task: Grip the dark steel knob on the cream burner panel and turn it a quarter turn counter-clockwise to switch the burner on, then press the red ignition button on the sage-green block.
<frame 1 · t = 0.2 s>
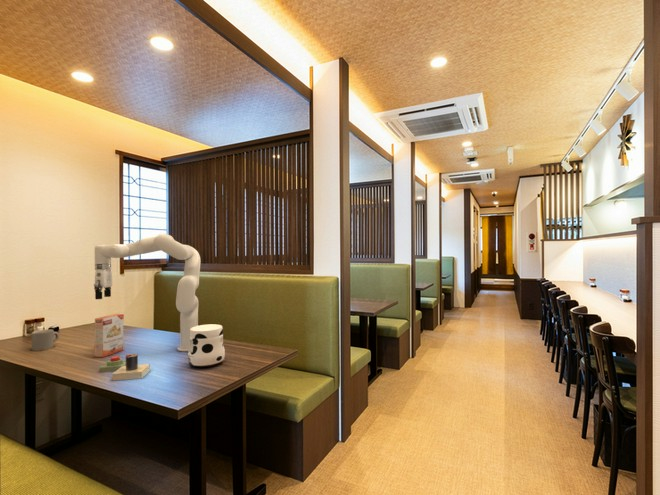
hand: (103, 297, 187), 31 cm above the table, tool pointing down, fingers open, 9 cm apart
ignite button: (115, 359, 163), point 4 cm above the table, slide at 0.1 cm
burner panel: (131, 375, 154), on the table
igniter: (115, 368, 163), on the table
cracker box: (109, 353, 188), on the table
coffee mug: (46, 347, 202), on the table
milk container: (206, 364, 168), on the table
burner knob: (131, 361, 154), point 6 cm above the table, hinge at 0.0°
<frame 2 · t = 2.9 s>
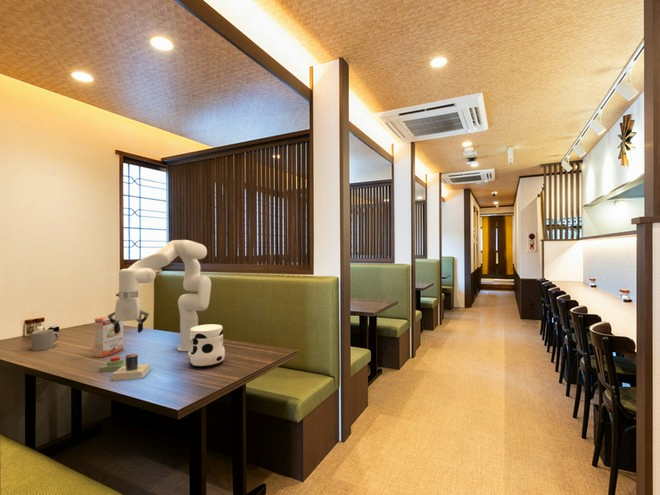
hand: (128, 332, 156), 19 cm above the table, tool pointing down, fingers open, 9 cm apart
nothing on the table moved.
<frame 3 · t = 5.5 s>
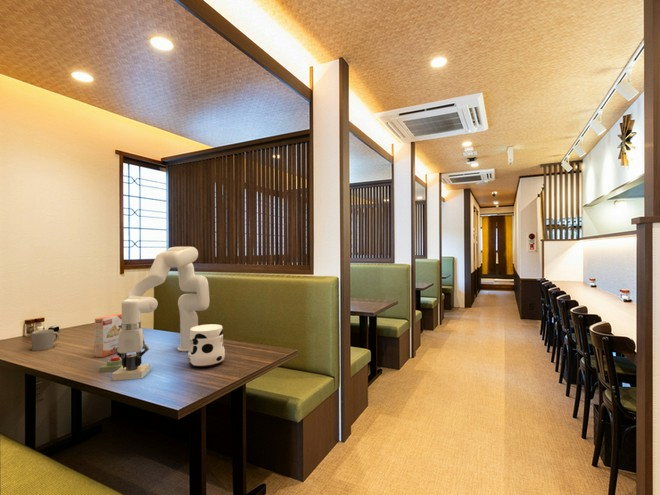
hand: (131, 366, 154), 4 cm above the table, tool pointing down, fingers closed on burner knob, 4 cm apart
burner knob: (131, 361, 154), point 6 cm above the table, hinge at -0.1°, touching gripper
everything else where it was.
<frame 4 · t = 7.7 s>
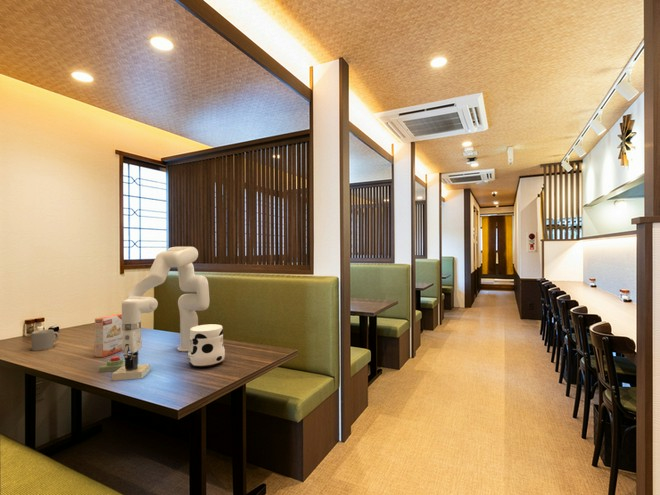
hand: (131, 366, 154), 4 cm above the table, tool pointing down, fingers closed on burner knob, 4 cm apart
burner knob: (131, 361, 154), point 6 cm above the table, hinge at 90.5°, touching gripper
everything else where it was.
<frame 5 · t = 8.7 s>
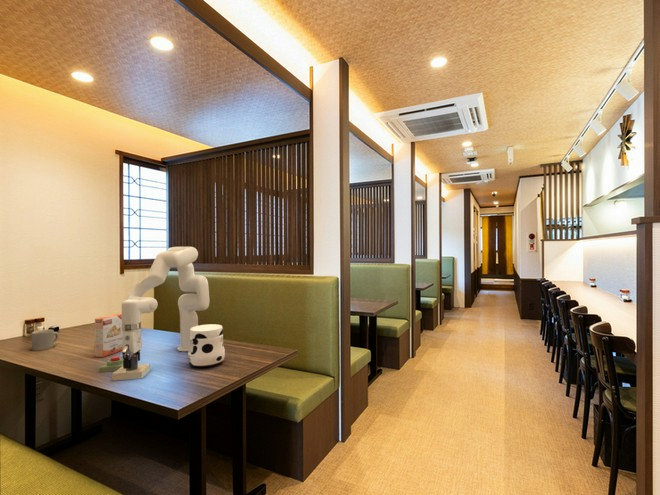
hand: (132, 364, 154), 5 cm above the table, tool pointing down, fingers open, 9 cm apart
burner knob: (131, 361, 154), point 6 cm above the table, hinge at 91.1°
everything else where it was.
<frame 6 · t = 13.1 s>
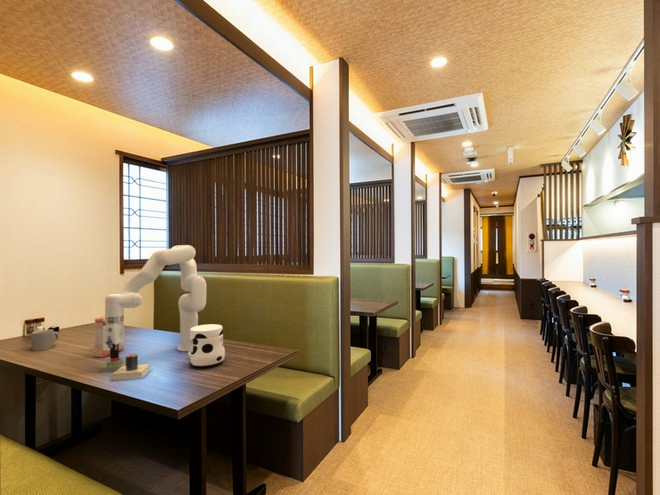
hand: (114, 357, 163), 5 cm above the table, tool pointing down, fingers closed
ignite button: (115, 359, 163), point 4 cm above the table, slide at -0.1 cm, touching gripper
everything else where it was.
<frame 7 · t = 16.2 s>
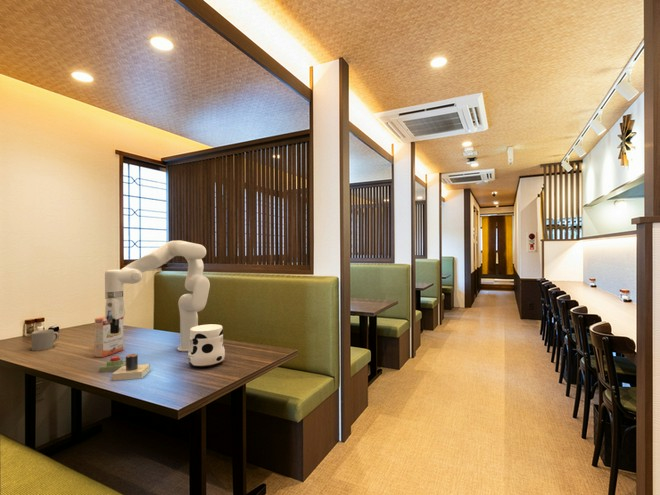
hand: (114, 333, 164), 17 cm above the table, tool pointing down, fingers closed
ignite button: (115, 359, 163), point 4 cm above the table, slide at 0.1 cm
everything else where it was.
at the end: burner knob at +91° (first picture: +0°); ignite button pushed in 1.1 cm at the most during the clip and back out by the end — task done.
